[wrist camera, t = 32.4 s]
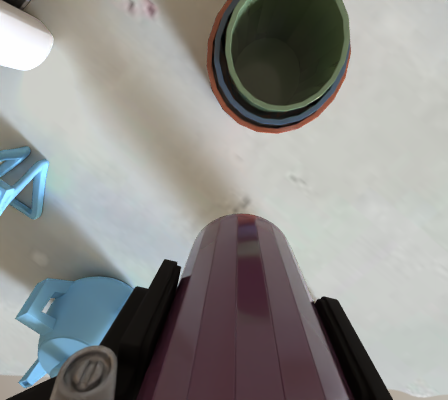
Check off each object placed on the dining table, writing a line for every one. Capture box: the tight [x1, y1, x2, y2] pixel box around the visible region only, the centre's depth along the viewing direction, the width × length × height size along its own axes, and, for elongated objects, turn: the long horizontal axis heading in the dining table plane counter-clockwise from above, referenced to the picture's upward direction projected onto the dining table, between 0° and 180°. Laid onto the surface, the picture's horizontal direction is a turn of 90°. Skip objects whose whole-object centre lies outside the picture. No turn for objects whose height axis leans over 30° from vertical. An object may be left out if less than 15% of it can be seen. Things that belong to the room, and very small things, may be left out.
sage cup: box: [225, 0, 350, 115], centre depth 20 cm, size 8×8×11 cm
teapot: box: [15, 276, 134, 388], centre depth 32 cm, size 15×15×11 cm
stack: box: [214, 0, 350, 125], centre depth 21 cm, size 9×9×10 cm
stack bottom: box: [207, 0, 351, 134], centre depth 22 cm, size 11×11×8 cm
